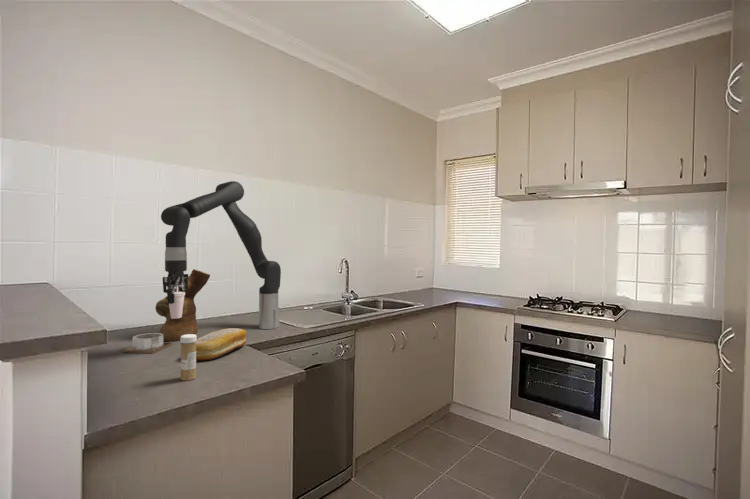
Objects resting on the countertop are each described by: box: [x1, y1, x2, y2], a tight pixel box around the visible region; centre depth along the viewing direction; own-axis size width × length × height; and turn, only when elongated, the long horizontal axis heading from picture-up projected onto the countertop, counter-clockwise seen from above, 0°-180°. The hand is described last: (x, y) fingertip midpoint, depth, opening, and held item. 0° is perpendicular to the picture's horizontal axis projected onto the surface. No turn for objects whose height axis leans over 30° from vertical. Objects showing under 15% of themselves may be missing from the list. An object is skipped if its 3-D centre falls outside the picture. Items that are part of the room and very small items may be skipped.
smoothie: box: [166, 285, 185, 319], centre depth 150 cm, size 6×6×14 cm
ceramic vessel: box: [155, 268, 211, 343], centre depth 172 cm, size 16×22×30 cm
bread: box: [196, 327, 247, 362], centre depth 150 cm, size 13×26×8 cm, turn 169°
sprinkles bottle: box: [179, 334, 198, 381], centre depth 120 cm, size 5×5×14 cm
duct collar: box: [122, 332, 173, 354], centre depth 153 cm, size 12×12×5 cm
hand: (176, 301), depth 150 cm, fingers closed on smoothie, 6 cm apart
